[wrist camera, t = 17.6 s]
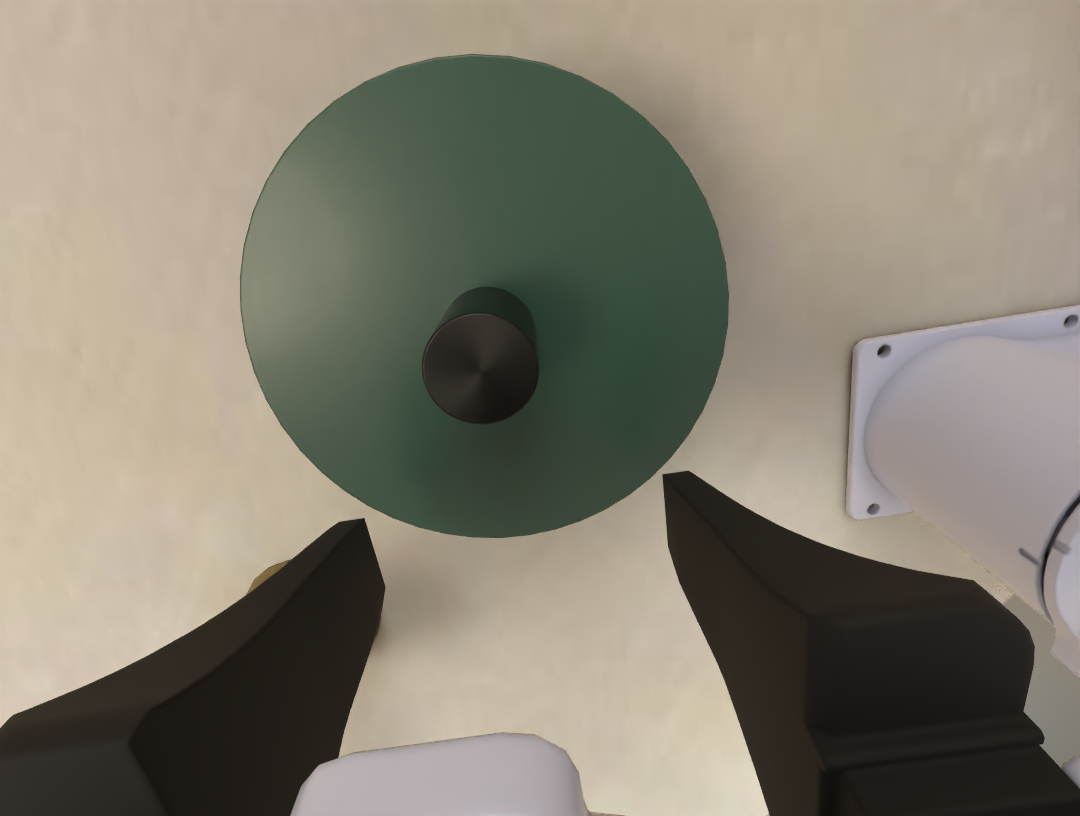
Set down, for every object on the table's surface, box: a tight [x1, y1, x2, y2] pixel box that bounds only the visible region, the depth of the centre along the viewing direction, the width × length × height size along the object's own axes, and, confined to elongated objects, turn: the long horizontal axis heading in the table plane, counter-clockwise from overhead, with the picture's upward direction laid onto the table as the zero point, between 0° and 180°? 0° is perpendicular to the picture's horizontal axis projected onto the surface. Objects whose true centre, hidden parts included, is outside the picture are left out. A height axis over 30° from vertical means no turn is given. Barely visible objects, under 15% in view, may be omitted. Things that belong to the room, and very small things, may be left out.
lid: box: [240, 54, 729, 538], centre depth 14 cm, size 12×12×4 cm
